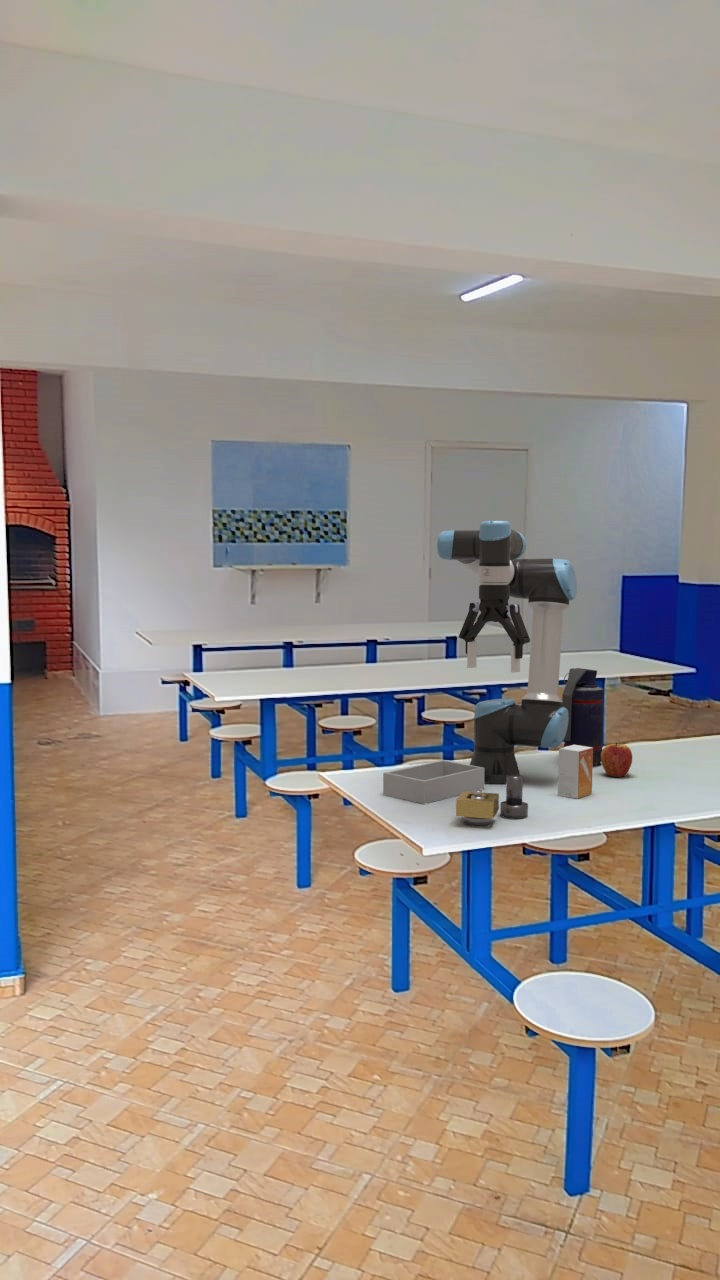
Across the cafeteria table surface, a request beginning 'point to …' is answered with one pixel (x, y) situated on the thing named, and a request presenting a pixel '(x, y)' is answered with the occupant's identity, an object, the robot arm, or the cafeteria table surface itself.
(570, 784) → the small box
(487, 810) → the gold square ring
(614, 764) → the apple
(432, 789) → the gray bin
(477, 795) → the cylinder
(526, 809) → the dark grey round-headed cylinder
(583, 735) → the grenade
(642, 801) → the cafeteria table surface
